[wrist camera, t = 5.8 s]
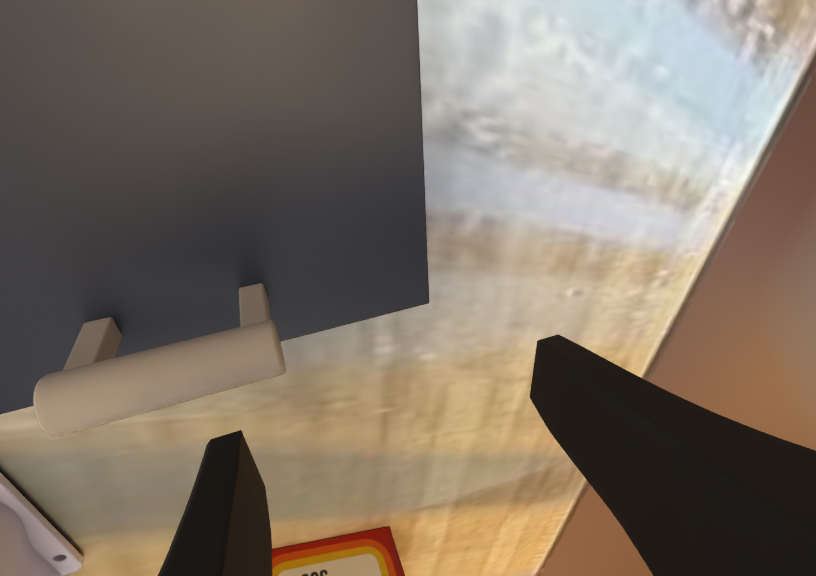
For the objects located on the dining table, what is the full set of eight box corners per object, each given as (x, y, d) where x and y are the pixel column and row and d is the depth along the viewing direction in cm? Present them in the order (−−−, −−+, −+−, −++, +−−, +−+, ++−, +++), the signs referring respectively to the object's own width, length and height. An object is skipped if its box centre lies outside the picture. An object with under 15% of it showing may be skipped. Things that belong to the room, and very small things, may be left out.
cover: (422, 293, 16) (473, 366, 13) (-79, 419, 12) (-189, 569, 9) (403, -91, 10) (490, -139, 7) (-590, -71, 6) (-1469, -153, 3)
